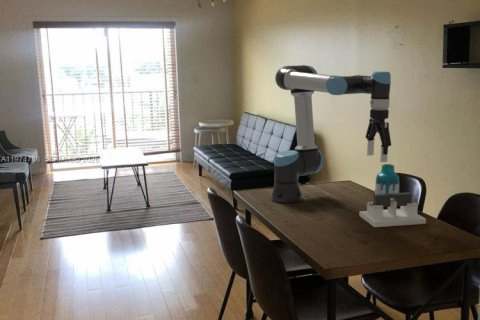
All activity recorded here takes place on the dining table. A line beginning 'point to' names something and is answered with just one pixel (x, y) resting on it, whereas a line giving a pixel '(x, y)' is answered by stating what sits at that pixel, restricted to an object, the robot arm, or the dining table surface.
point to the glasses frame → (398, 197)
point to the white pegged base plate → (392, 215)
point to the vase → (387, 180)
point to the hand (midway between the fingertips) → (376, 158)
